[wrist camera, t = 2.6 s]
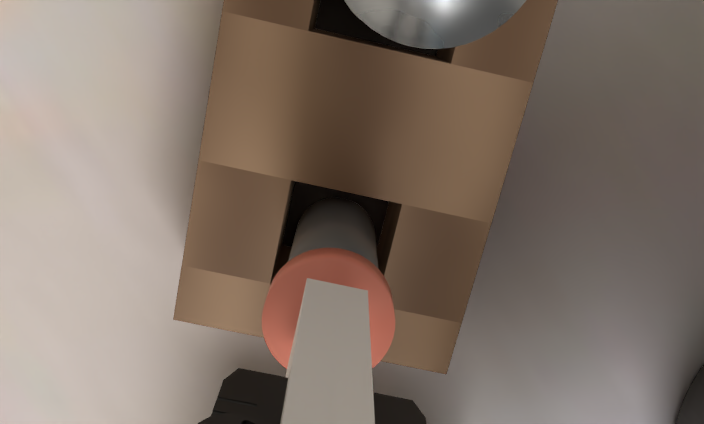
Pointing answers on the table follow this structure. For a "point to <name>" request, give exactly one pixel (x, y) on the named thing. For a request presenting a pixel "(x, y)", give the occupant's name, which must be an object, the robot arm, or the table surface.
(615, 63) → the table surface
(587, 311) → the table surface
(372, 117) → the socket block
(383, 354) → the plunger
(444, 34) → the grey tall cylinder
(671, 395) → the table surface
